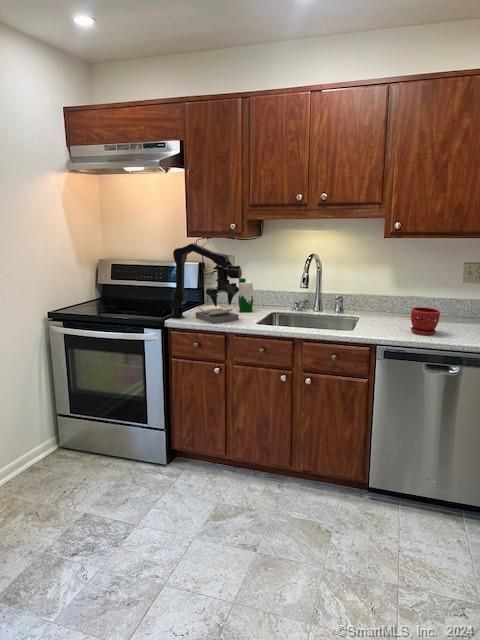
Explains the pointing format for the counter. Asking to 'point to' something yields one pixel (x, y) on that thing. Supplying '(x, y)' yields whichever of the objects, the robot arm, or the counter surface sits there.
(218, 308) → the plate
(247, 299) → the milk carton
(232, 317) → the rocker switch panel
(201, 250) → the robot arm
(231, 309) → the green rocker
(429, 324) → the plant pot
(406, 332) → the counter surface
